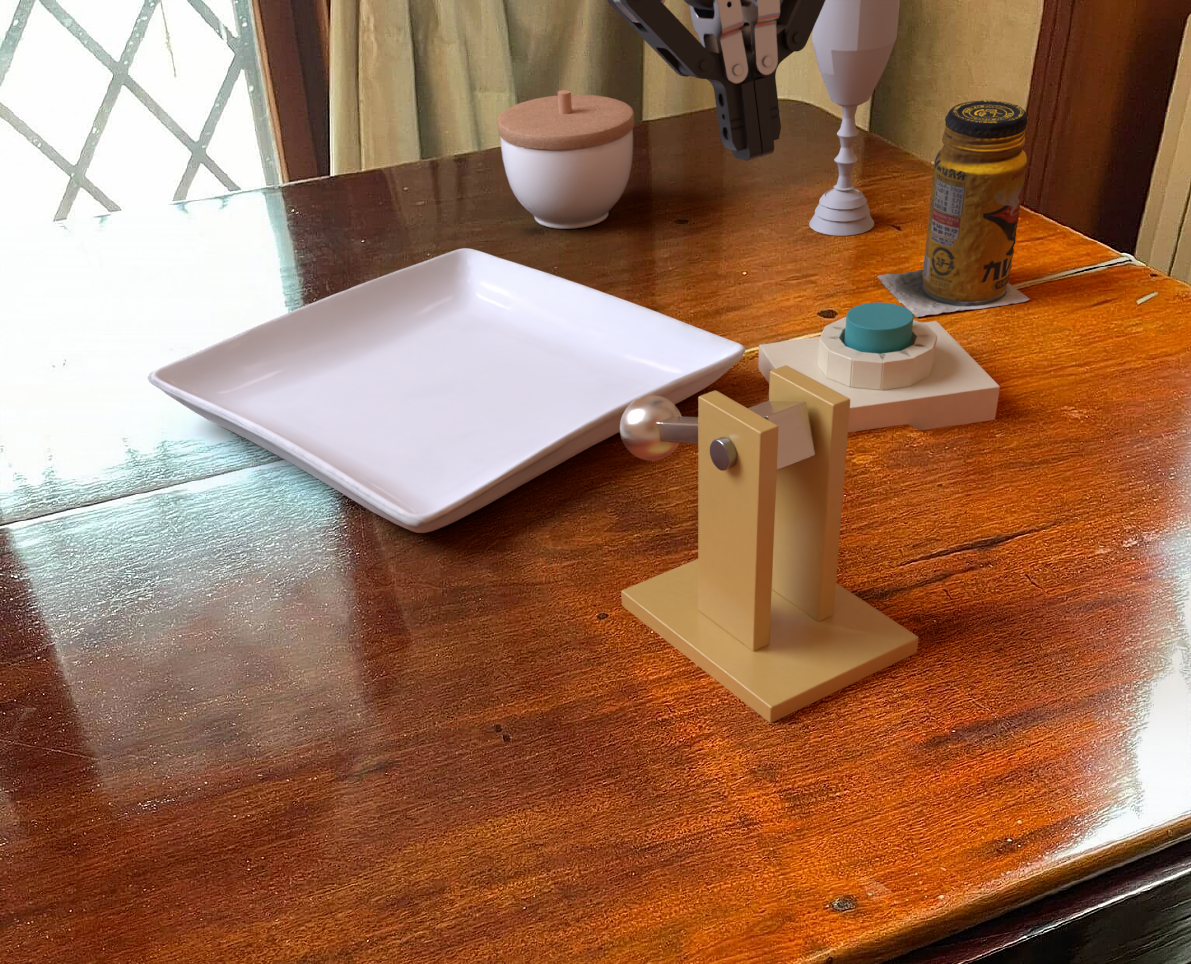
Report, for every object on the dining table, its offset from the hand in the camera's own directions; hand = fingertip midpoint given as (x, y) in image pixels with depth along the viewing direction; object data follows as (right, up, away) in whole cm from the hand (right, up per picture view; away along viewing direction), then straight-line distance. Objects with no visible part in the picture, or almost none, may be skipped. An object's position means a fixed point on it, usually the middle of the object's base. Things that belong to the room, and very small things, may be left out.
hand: (753, 155), depth 74 cm
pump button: (+9, -6, +12) cm, 16 cm away
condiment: (+17, +2, +26) cm, 31 cm away
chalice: (+11, +11, +37) cm, 40 cm away
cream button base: (+9, -9, +15) cm, 19 cm away
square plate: (-17, -9, +16) cm, 25 cm away
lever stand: (0, -26, -4) cm, 26 cm away
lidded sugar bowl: (-10, +14, +41) cm, 45 cm away
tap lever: (-3, -18, -7) cm, 19 cm away
